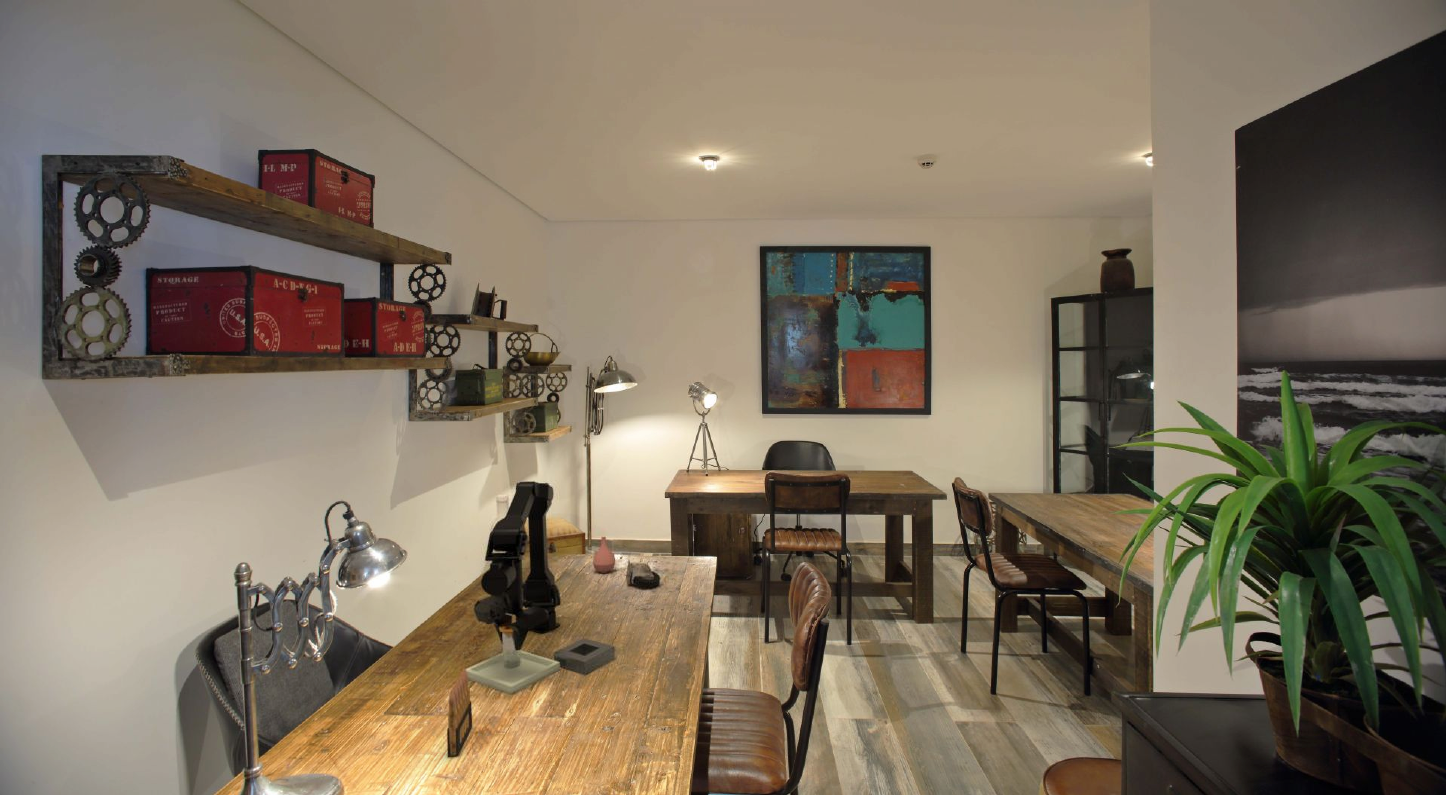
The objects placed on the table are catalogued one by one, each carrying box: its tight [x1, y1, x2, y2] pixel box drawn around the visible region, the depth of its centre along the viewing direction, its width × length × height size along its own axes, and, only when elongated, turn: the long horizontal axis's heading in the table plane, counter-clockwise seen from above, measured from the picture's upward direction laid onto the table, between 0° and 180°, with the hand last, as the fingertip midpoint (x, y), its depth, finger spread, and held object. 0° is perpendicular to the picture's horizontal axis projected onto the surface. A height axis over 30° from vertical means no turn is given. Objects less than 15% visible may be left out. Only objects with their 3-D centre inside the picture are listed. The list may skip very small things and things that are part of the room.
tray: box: [465, 649, 561, 696], centre depth 154 cm, size 16×14×2 cm
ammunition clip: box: [446, 667, 473, 758], centre depth 126 cm, size 11×2×12 cm, turn 7°
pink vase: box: [592, 536, 616, 574], centre depth 231 cm, size 8×8×12 cm
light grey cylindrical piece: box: [499, 619, 521, 669], centre depth 154 cm, size 5×5×10 cm
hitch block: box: [553, 637, 616, 676], centre depth 160 cm, size 10×10×3 cm
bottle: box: [490, 494, 510, 553], centre depth 215 cm, size 8×8×30 cm
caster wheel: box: [625, 559, 661, 590], centre depth 216 cm, size 7×11×10 cm
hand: (511, 647), depth 154 cm, fingers closed on light grey cylindrical piece, 4 cm apart
